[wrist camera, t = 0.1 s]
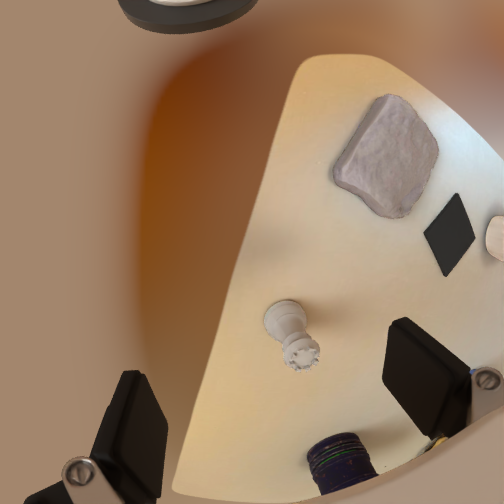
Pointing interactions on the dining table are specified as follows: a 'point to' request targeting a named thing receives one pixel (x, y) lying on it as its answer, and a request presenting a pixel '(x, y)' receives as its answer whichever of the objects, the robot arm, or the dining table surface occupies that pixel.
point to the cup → (496, 237)
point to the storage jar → (339, 463)
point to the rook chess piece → (292, 335)
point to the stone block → (388, 158)
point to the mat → (450, 235)
